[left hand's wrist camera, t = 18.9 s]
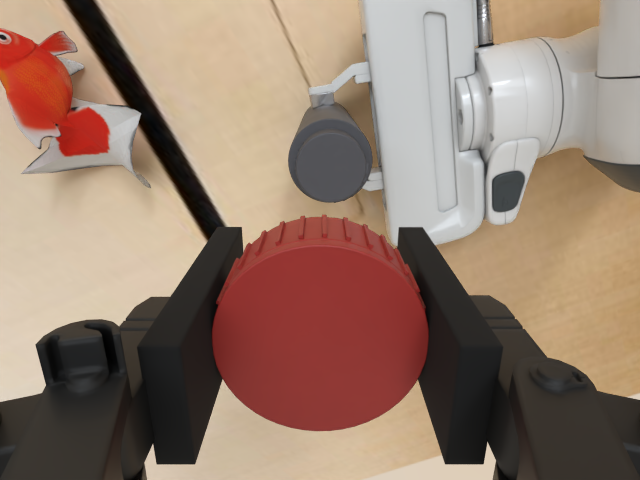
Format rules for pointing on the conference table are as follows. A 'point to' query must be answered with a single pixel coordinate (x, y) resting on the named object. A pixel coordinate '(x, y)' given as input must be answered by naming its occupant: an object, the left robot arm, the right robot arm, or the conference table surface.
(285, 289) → the lid
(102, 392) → the left robot arm
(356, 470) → the conference table surface
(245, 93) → the conference table surface
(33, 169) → the fish
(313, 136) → the dark grey cylinder
